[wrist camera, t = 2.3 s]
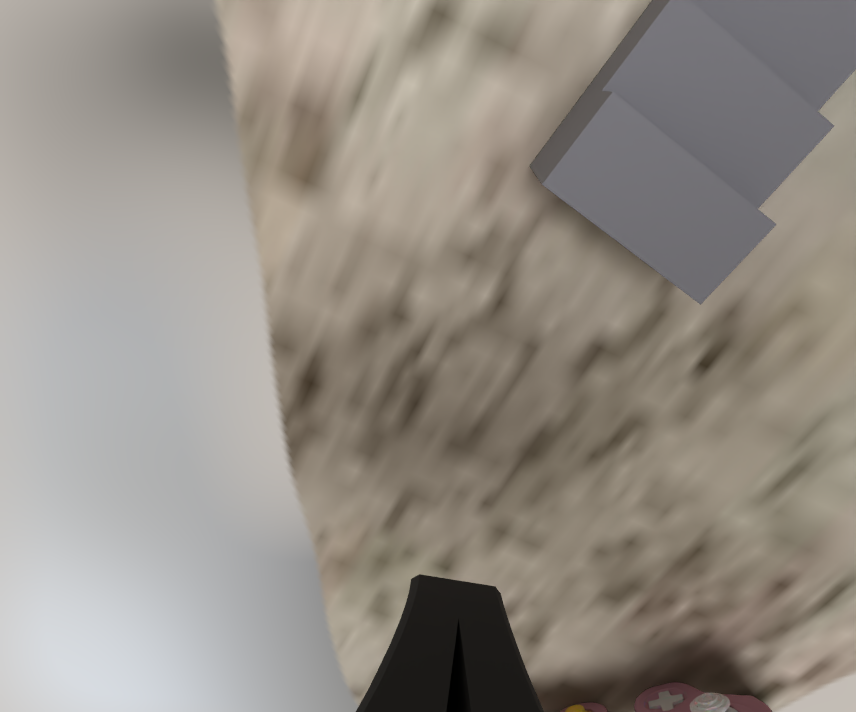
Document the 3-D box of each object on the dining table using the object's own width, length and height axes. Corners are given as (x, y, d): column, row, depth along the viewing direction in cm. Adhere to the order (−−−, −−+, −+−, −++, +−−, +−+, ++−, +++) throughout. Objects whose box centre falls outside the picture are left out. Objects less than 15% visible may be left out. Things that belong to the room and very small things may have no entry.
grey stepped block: (866, 27, 15) (979, 10, 11) (657, 262, 17) (700, 304, 14) (725, -102, 14) (803, -159, 11) (528, 164, 16) (542, 184, 13)
